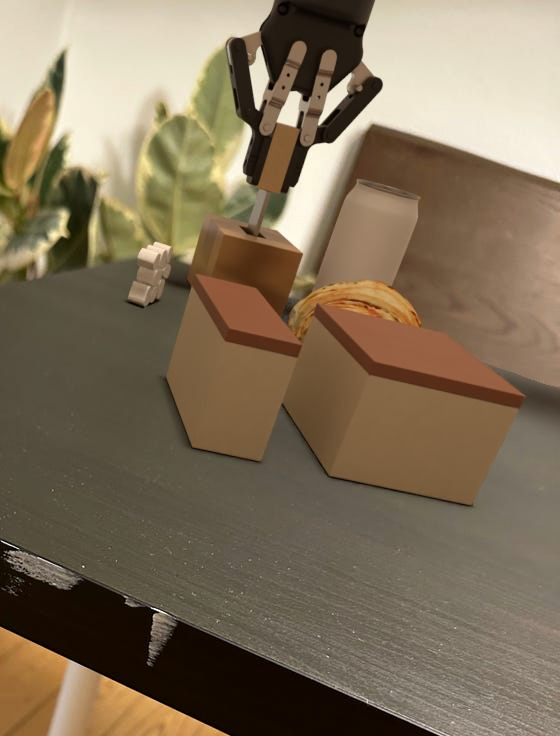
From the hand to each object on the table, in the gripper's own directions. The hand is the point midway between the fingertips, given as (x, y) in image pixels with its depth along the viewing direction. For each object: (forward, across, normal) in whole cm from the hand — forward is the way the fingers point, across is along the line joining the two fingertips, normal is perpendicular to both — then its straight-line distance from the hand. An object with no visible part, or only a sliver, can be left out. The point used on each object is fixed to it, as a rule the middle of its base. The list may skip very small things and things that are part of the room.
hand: (266, 186), depth 82 cm
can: (+10, +10, -1) cm, 14 cm away
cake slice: (+10, -8, -34) cm, 36 cm away
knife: (+9, 0, 0) cm, 9 cm away
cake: (+10, +3, -34) cm, 35 cm away
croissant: (+10, +6, -16) cm, 20 cm away
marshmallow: (+10, -9, -8) cm, 16 cm away
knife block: (+10, 0, 0) cm, 10 cm away
